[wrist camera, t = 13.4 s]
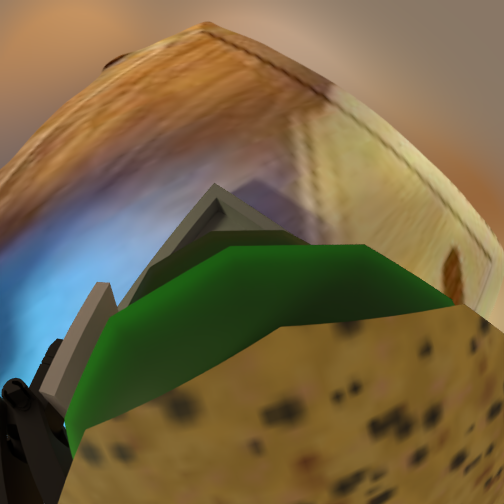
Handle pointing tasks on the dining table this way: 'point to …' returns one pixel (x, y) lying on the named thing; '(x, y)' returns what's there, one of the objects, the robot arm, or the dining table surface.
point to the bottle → (288, 384)
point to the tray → (208, 226)
